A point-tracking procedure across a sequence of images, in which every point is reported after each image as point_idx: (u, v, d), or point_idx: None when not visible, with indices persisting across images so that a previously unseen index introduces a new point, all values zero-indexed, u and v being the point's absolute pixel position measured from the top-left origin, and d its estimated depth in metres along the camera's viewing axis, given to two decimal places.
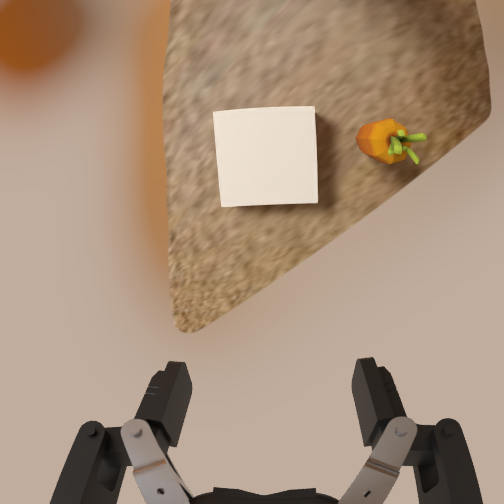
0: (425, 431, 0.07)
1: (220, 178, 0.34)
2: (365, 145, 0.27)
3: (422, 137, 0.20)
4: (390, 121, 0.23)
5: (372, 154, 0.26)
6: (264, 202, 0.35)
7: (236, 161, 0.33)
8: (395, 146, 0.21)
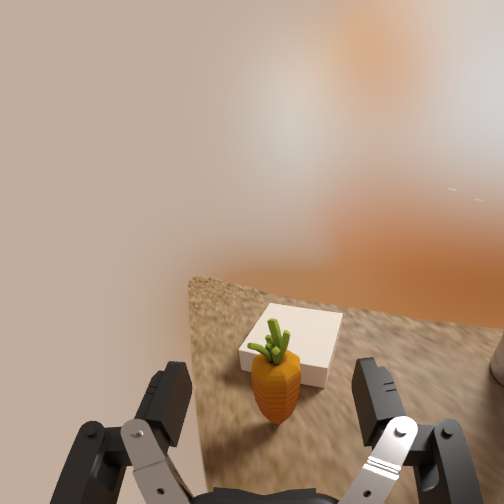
0: (425, 431, 0.07)
1: (290, 307, 0.45)
2: None
3: (276, 346, 0.22)
4: (298, 366, 0.24)
5: None
6: (259, 322, 0.42)
7: (298, 316, 0.42)
8: (276, 319, 0.24)
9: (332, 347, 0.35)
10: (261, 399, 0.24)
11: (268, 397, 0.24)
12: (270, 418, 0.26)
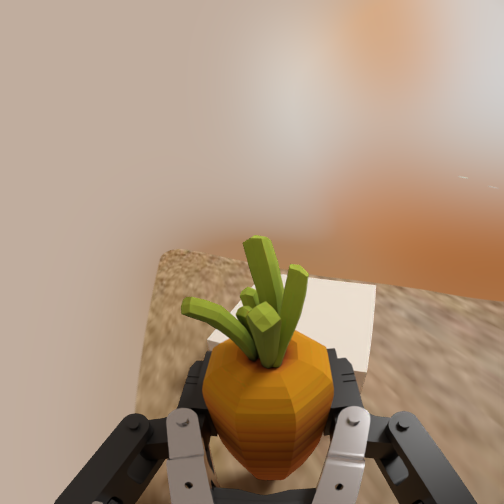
0: (381, 423, 0.08)
1: None
2: None
3: (264, 302, 0.06)
4: (328, 373, 0.09)
5: None
6: None
7: (309, 289, 0.27)
8: None
9: (369, 335, 0.20)
10: (233, 447, 0.09)
11: (248, 449, 0.08)
12: (256, 476, 0.10)
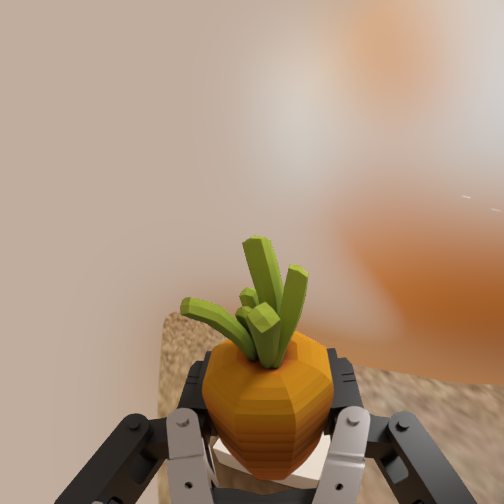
0: (381, 423, 0.08)
1: None
2: None
3: (264, 302, 0.06)
4: (328, 373, 0.09)
5: None
6: None
7: None
8: None
9: None
10: (233, 448, 0.09)
11: (248, 449, 0.08)
12: (256, 477, 0.10)
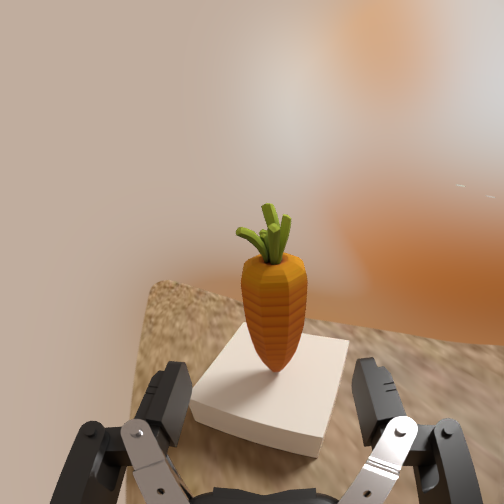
0: (425, 431, 0.07)
1: None
2: None
3: (274, 223, 0.17)
4: (303, 268, 0.19)
5: None
6: (223, 352, 0.27)
7: None
8: (272, 205, 0.20)
9: (332, 399, 0.20)
10: (255, 321, 0.20)
11: (265, 314, 0.19)
12: (267, 355, 0.21)
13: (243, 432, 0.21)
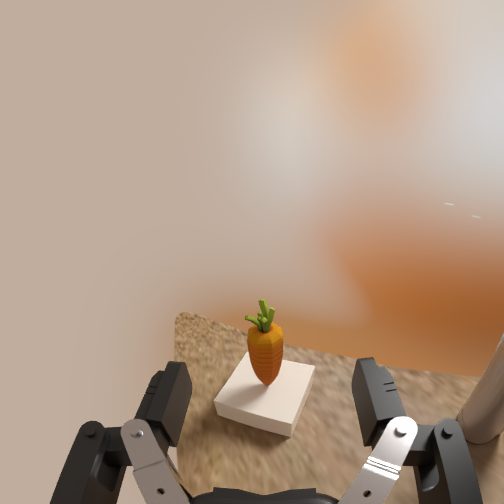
0: (425, 431, 0.07)
1: None
2: None
3: (264, 317, 0.32)
4: (281, 334, 0.35)
5: None
6: (235, 372, 0.43)
7: None
8: None
9: (299, 402, 0.36)
10: (255, 360, 0.35)
11: (260, 357, 0.34)
12: (261, 377, 0.37)
13: (247, 421, 0.36)
